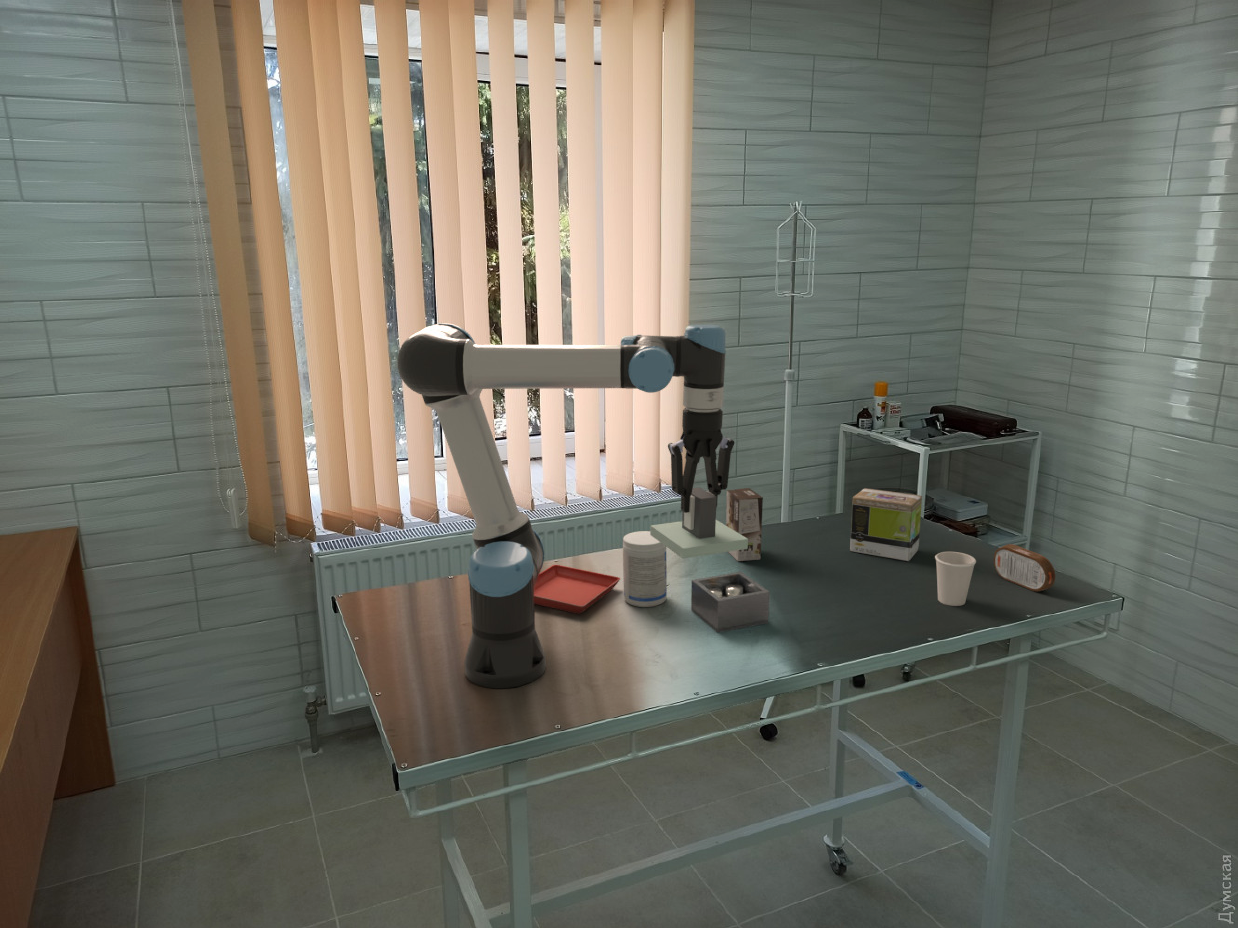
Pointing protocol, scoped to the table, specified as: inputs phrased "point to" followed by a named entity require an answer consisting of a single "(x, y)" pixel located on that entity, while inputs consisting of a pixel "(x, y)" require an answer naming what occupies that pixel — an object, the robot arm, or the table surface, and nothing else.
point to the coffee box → (745, 521)
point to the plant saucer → (571, 588)
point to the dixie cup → (953, 577)
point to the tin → (1024, 567)
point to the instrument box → (730, 601)
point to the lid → (699, 531)
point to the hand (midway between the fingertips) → (698, 525)
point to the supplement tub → (644, 570)
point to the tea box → (885, 524)
